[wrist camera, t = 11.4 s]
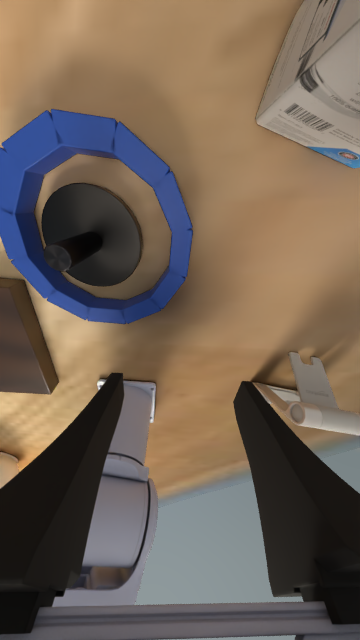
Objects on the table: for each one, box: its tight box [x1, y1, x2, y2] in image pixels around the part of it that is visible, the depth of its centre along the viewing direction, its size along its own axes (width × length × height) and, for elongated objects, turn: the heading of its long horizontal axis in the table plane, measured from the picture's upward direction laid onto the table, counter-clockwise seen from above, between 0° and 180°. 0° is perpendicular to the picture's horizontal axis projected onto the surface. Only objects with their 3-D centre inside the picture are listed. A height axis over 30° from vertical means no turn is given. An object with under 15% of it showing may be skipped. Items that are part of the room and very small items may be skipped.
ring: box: [0, 109, 193, 324], centre depth 16 cm, size 15×15×2 cm
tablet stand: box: [252, 352, 360, 436], centre depth 23 cm, size 9×8×8 cm
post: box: [41, 183, 142, 286], centre depth 14 cm, size 8×8×6 cm
